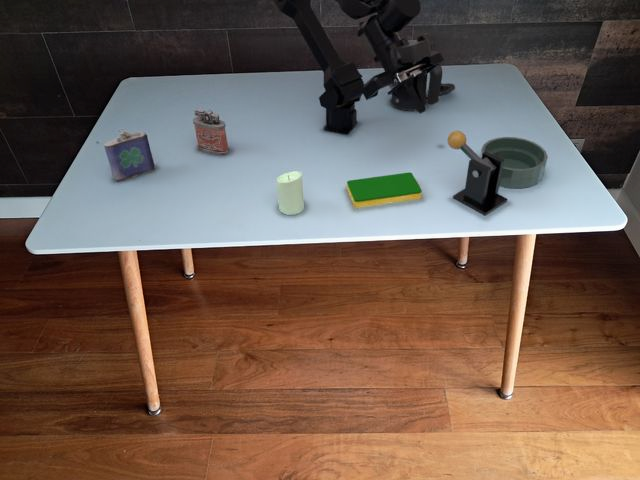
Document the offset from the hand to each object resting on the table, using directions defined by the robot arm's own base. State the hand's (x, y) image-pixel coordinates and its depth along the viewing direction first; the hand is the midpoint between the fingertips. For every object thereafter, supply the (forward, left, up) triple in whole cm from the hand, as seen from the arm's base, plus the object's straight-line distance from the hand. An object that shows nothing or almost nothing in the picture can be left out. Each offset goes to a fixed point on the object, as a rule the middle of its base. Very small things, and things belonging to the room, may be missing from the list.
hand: (423, 112), depth 119 cm
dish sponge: (-4, -12, -14) cm, 19 cm away
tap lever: (+11, -5, -6) cm, 13 cm away
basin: (+19, +6, -14) cm, 24 cm away
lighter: (-46, -10, -14) cm, 49 cm away
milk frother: (-9, +32, -14) cm, 36 cm away
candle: (-19, -23, -14) cm, 33 cm away
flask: (-57, -25, -14) cm, 64 cm away
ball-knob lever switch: (+15, -7, -14) cm, 21 cm away
